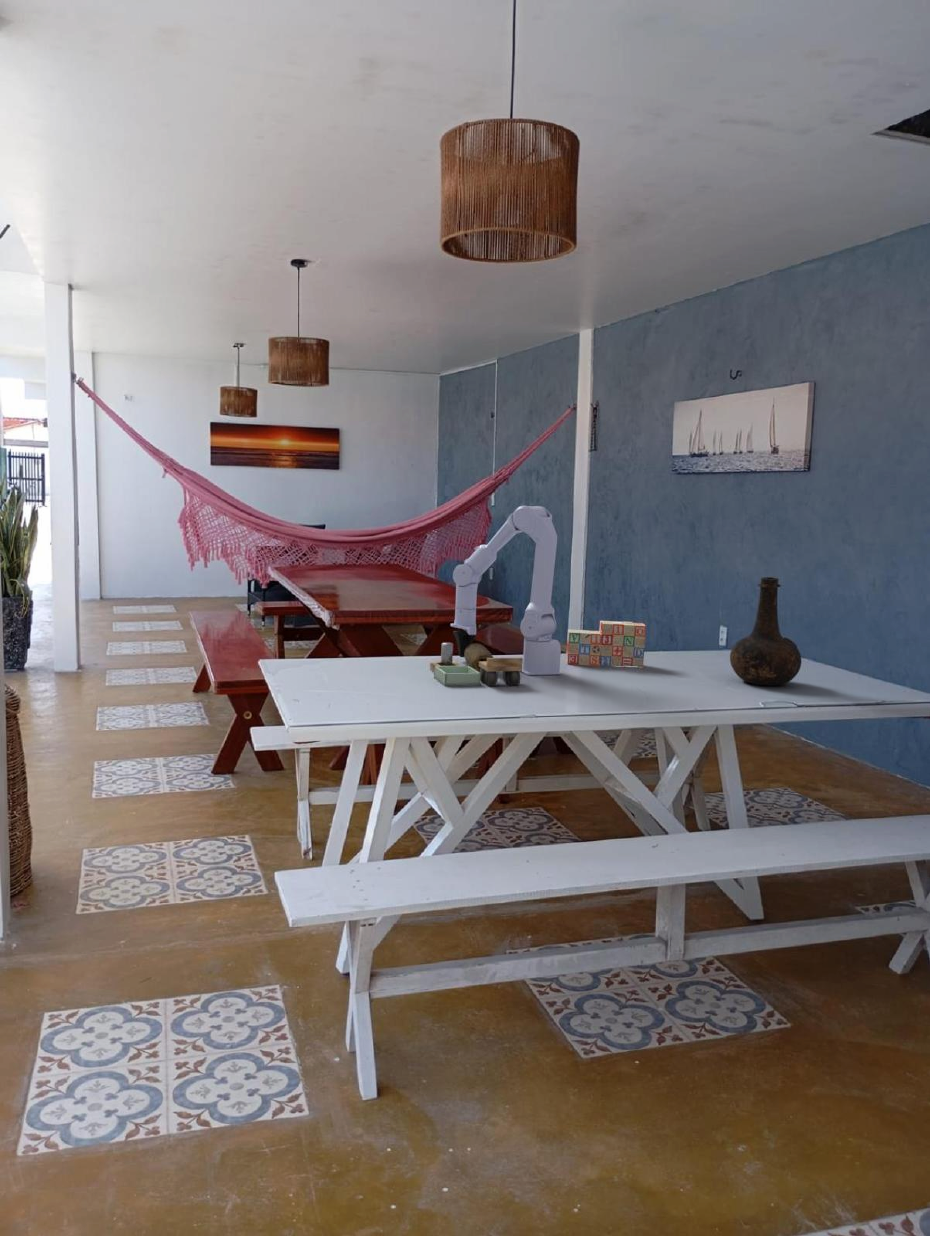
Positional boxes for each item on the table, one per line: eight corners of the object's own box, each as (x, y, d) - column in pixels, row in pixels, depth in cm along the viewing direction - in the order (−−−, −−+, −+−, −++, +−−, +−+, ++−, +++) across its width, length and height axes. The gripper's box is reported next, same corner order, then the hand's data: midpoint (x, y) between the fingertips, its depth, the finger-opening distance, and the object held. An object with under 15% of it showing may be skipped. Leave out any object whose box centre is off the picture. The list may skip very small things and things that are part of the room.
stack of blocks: (566, 665, 273) (569, 621, 271) (565, 661, 279) (568, 618, 277) (643, 668, 272) (646, 625, 270) (640, 664, 278) (643, 622, 276)
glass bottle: (812, 690, 250) (821, 581, 247) (748, 690, 247) (757, 580, 243) (776, 676, 268) (785, 575, 264) (716, 676, 264) (724, 573, 260)
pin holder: (455, 669, 258) (455, 661, 258) (462, 674, 252) (463, 666, 251) (429, 669, 256) (430, 661, 256) (436, 674, 250) (437, 666, 249)
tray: (468, 677, 247) (468, 665, 247) (480, 685, 238) (480, 673, 238) (434, 678, 245) (434, 666, 244) (444, 686, 235) (445, 673, 235)
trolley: (511, 680, 246) (512, 653, 245) (521, 686, 239) (523, 658, 238) (477, 680, 243) (478, 653, 242) (487, 687, 236) (488, 658, 235)
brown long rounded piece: (459, 665, 265) (460, 641, 264) (484, 665, 266) (485, 641, 266) (472, 676, 250) (473, 650, 250) (498, 676, 252) (499, 650, 251)
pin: (450, 670, 256) (451, 642, 255) (453, 672, 253) (454, 644, 252) (439, 670, 255) (440, 642, 254) (442, 673, 252) (443, 644, 251)
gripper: (444, 604, 274) (442, 652, 275) (459, 611, 260) (457, 661, 262) (468, 605, 276) (466, 652, 277) (484, 611, 262) (482, 661, 264)
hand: (463, 656), depth 270 cm, fingers closed
